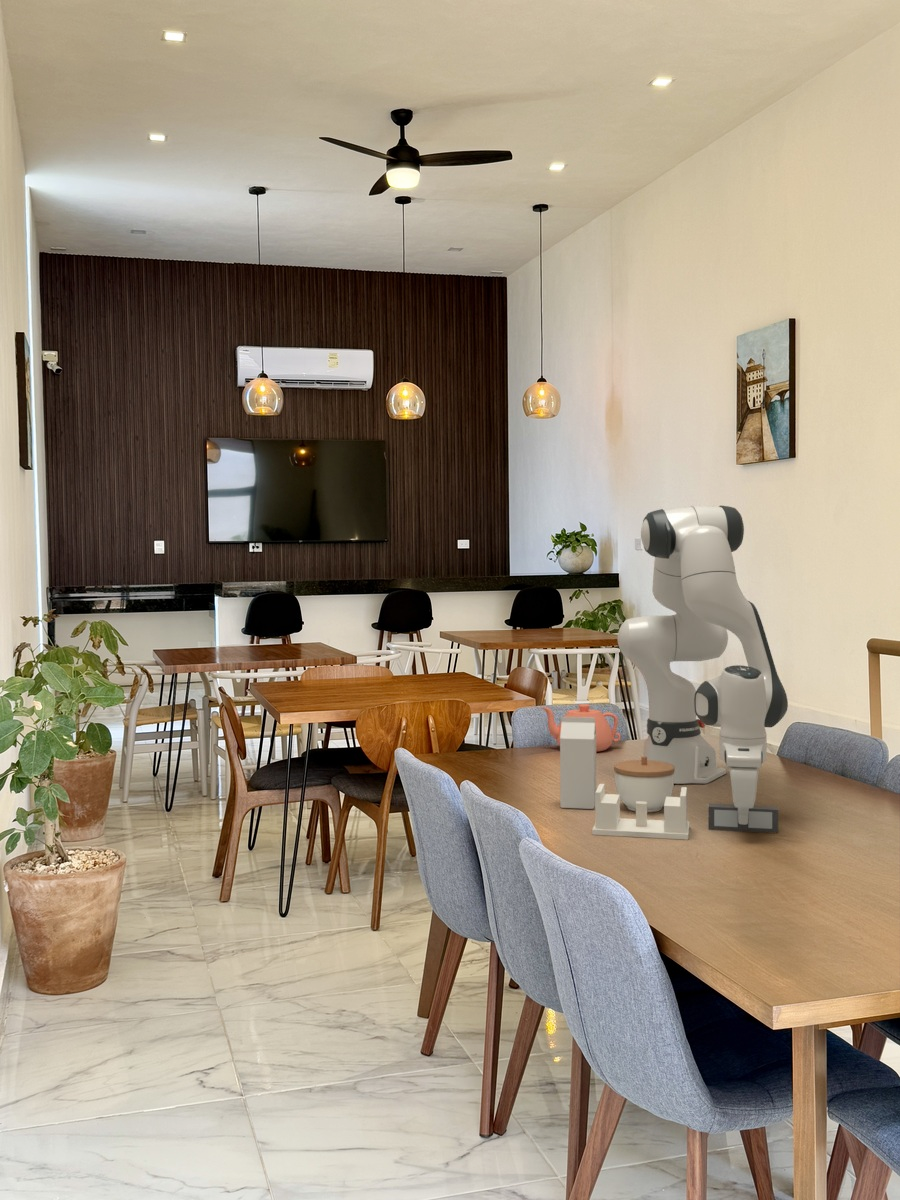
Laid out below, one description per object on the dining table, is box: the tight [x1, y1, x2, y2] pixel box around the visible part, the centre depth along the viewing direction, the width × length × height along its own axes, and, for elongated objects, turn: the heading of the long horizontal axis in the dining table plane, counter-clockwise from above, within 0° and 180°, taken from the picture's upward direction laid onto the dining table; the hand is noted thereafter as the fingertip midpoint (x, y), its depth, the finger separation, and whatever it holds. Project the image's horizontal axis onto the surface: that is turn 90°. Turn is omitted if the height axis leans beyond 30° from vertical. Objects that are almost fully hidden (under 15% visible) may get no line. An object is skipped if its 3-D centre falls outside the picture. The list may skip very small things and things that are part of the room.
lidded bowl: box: [613, 755, 675, 813], centre depth 229 cm, size 13×13×11 cm
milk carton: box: [559, 716, 597, 810], centre depth 232 cm, size 7×7×19 cm
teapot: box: [540, 703, 621, 753], centre depth 299 cm, size 22×16×12 cm
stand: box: [591, 783, 691, 841], centre depth 211 cm, size 18×10×8 cm, turn 76°
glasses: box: [708, 802, 779, 834], centre depth 211 cm, size 13×3×4 cm, turn 76°
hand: (742, 820), depth 211 cm, fingers closed on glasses, 3 cm apart
